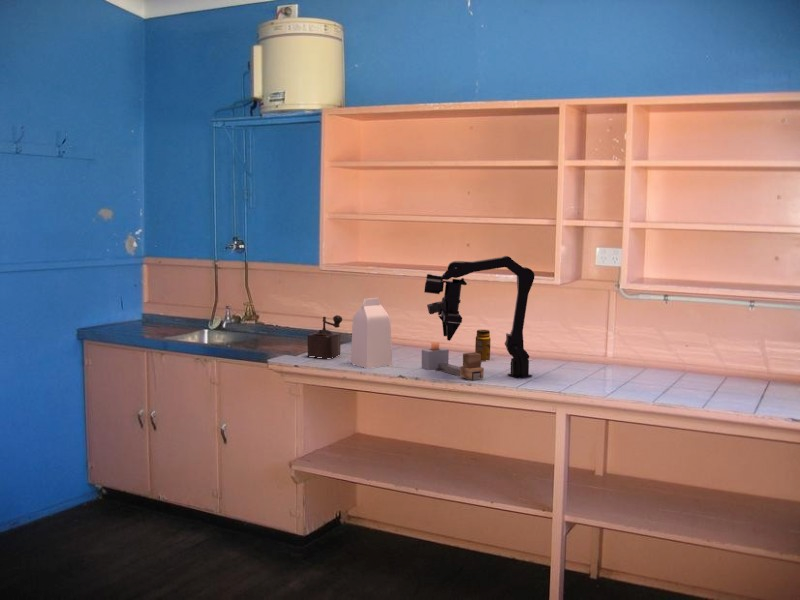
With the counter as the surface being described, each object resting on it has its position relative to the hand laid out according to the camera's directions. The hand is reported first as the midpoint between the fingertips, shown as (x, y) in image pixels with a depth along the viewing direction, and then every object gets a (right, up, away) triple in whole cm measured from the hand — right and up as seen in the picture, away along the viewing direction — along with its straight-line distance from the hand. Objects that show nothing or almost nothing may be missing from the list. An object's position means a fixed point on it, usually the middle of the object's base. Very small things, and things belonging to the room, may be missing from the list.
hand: (446, 338), depth 292 cm
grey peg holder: (-4, -12, +15) cm, 20 cm away
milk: (-28, -12, +21) cm, 37 cm away
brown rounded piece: (-4, -6, +14) cm, 16 cm away
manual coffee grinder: (-46, -10, +36) cm, 60 cm away
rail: (+4, -13, +2) cm, 14 cm away
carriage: (+9, -14, -5) cm, 17 cm away
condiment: (+16, -11, +33) cm, 38 cm away
